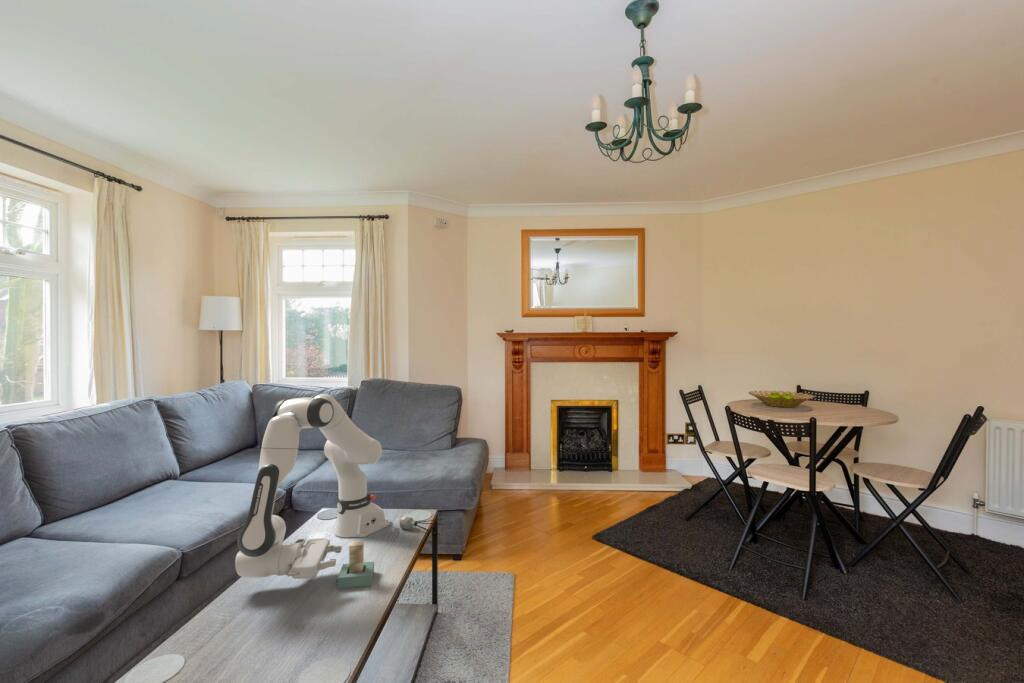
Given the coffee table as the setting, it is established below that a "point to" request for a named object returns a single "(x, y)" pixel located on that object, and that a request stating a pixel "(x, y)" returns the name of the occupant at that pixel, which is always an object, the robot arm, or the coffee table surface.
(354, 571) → the light wooden block
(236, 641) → the coffee table surface
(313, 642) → the coffee table surface
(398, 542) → the coffee table surface
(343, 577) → the sage square frame
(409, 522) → the reed diffuser
